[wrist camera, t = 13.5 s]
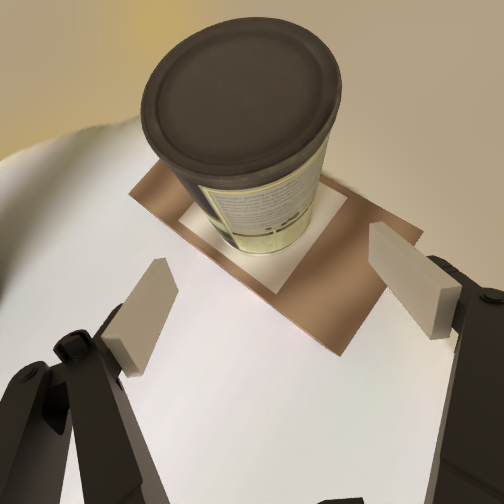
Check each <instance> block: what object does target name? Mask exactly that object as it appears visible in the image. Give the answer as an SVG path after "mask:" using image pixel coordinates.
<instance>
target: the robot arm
mask: <svg viewBox="0 0 504 504" xmlns="http://www.w3.org/2000/svg"><path fill="white" fill-rule="evenodd" d="M368 262H369V263H370V265H371V266H372V267H373V268H374V270H375V271H376V272H377V273H378V275H379V276H380V277H381V278H382V280H383V281H384V282H385V283H386V285H387V286H388V287H389V289H390V290H391V291H392V292H393V294H394V295H395V296H396V297H397V299H398V300H399V301H400V302H401V304H402V305H403V306H404V307H405V309H406V310H407V311H408V312H409V314H410V315H411V316H412V317H413V319H414V320H415V321H416V322H417V324H418V325H419V326H420V327H421V329H422V330H423V331H424V332H425V334H426V335H427V336H428V337H429V339H430V340H434V339H443V338H449V337H450V332H451V328H453V329H454V330H455V331H456V332H457V333H458V334H459V336H458V340H457V344H456V347H455V351H454V353H455V354H454V359H453V364H452V369H451V374H450V379H449V384H448V389H447V394H446V399H445V404H444V409H443V414H442V418H441V423H440V428H439V433H438V438H437V443H436V448H435V453H434V458H433V463H432V468H431V473H430V478H429V483H428V488H427V492H426V497H425V502H424V504H504V292H503V291H500V290H497V289H493V288H482V287H480V286H479V285H478V284H477V283H475V282H474V281H472V280H471V279H469V277H467V276H466V275H464V274H463V273H461V272H459V270H458V269H456V268H455V267H453V266H452V265H451V264H450V263H448V262H447V261H446V260H444V259H441V258H439V257H436V256H434V255H432V256H424V254H422V253H421V252H420V251H419V250H417V249H416V248H415V247H414V246H412V245H411V244H410V243H409V242H407V241H406V240H405V239H404V238H402V237H401V236H400V235H399V234H398V233H396V232H395V231H394V230H393V229H391V228H390V227H389V226H388V225H386V224H385V223H384V222H383V221H382V222H376V223H370V225H369V254H368ZM177 293H178V288H177V286H176V283H175V281H174V279H173V276H172V274H171V271H170V269H169V266H168V264H167V261H166V259H165V258H160V259H154V260H153V262H152V263H151V265H150V266H149V268H148V269H147V271H146V272H145V273H144V275H143V276H142V278H141V279H140V281H139V282H138V283H137V285H136V286H135V288H134V289H133V291H132V292H131V294H130V295H129V296H128V298H127V299H126V301H125V302H124V303H122V304H120V305H118V306H117V307H116V308H115V309H114V310H113V311H112V312H111V313H110V315H109V316H108V317H107V318H108V319H106V320H105V322H104V323H103V325H102V326H101V327H100V328H99V330H98V331H97V333H96V334H95V335H94V337H93V338H91V336H90V335H89V333H88V332H87V331H86V330H83V329H81V330H76V331H74V332H71V333H69V334H67V335H66V336H64V337H63V338H62V339H60V340H59V341H58V342H57V343H56V345H55V346H54V349H53V351H54V352H55V354H56V355H57V356H58V357H59V359H60V360H61V361H62V363H59V364H57V365H54V366H51V367H49V366H48V365H47V364H46V363H45V362H44V361H37V362H34V363H31V364H29V365H28V366H25V367H24V368H23V369H21V370H20V371H18V372H17V373H16V374H15V375H14V376H13V377H12V379H11V380H10V382H9V384H8V386H7V388H6V390H5V392H4V395H3V397H2V399H1V401H0V504H59V503H60V497H61V491H62V485H63V480H64V474H65V468H66V462H67V456H68V450H69V444H70V438H71V432H72V426H73V430H74V436H75V443H76V450H77V457H78V463H79V470H80V477H81V483H82V490H83V497H84V504H170V502H169V500H168V497H167V495H166V492H165V490H164V487H163V485H162V482H161V480H160V477H159V475H158V472H157V470H156V467H155V465H154V462H153V460H152V457H151V455H150V452H149V450H148V447H147V445H146V442H145V440H144V437H143V435H142V432H141V430H140V427H139V425H138V422H137V420H136V417H135V415H134V412H133V410H132V408H131V405H130V403H129V400H128V398H127V395H126V393H125V390H124V388H123V385H122V383H121V381H120V379H119V378H118V376H119V374H120V372H121V370H123V372H124V373H125V375H126V377H127V378H128V377H136V376H142V375H143V373H144V371H145V368H146V366H147V364H148V361H149V359H150V357H151V354H152V352H153V349H154V347H155V345H156V342H157V340H158V338H159V335H160V333H161V331H162V328H163V326H164V324H165V321H166V319H167V317H168V314H169V312H170V310H171V307H172V305H173V303H174V300H175V298H176V296H177ZM318 504H364V501H363V498H362V497H361V498H347V499H333V500H324V501H322V502H320V503H318Z"/></svg>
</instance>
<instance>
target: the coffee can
mask: <svg viewBox="0 0 504 504" xmlns="http://www.w3.org/2000/svg"><path fill="white" fill-rule="evenodd" d="M341 91H342V80H341V74H340V70H339V66H338V64H337V62H336V60H335V58H334V56H333V54H332V53H331V51H330V50H329V48H328V47H327V46H326V45H325V44H324V43H323V42H322V41H321V40H320V39H319V38H318V37H317V36H315V35H314V34H313V33H311V32H310V31H309V30H307V29H305V28H303V27H301V26H299V25H296V24H294V23H291V22H288V21H284V20H280V19H274V18H264V17H249V18H238V19H233V20H228V21H225V22H222V23H218V24H215V25H213V26H210V27H207V28H205V29H203V30H201V31H199V32H197V33H195V34H193V35H191V36H190V37H188V38H187V39H185V40H183V41H182V42H180V43H179V44H178V45H176V46H175V47H174V48H173V49H172V50H171V51H170V52H169V53H168V54H167V55H166V56H165V57H164V58H163V59H162V60H161V61H160V63H159V64H158V65H157V67H156V68H155V70H154V71H153V73H152V74H151V76H150V78H149V81H148V82H147V84H146V87H145V90H144V93H143V97H142V101H141V123H142V129H143V132H144V134H145V137H146V139H147V141H148V143H149V145H150V146H151V148H152V149H153V151H154V152H155V153H156V154H157V156H158V157H159V158H160V160H161V161H162V162H163V163H164V164H165V165H166V166H167V167H168V168H170V169H171V170H172V172H173V173H174V174H175V176H176V177H177V178H178V180H179V181H180V182H181V184H182V185H183V186H184V188H185V189H186V190H187V192H188V193H189V194H190V196H191V197H192V198H193V199H194V201H195V202H196V203H197V205H198V206H199V207H200V209H201V210H202V211H203V213H204V214H205V215H206V217H207V218H208V219H209V221H210V222H211V223H212V225H213V226H214V227H215V229H216V230H217V231H218V233H219V235H220V236H221V238H222V239H223V240H224V241H225V242H226V243H227V244H228V245H229V246H230V247H231V248H233V249H234V250H236V251H238V252H240V253H242V254H245V255H250V256H257V257H264V256H271V255H275V254H279V253H282V252H284V251H286V250H287V249H289V248H290V247H292V246H293V245H295V244H296V243H297V242H298V241H299V240H300V239H301V237H302V236H303V235H304V233H305V232H306V230H307V228H308V226H309V224H310V221H311V217H312V208H313V204H314V200H315V195H316V191H317V187H318V183H319V178H320V174H321V169H322V164H323V161H324V156H325V152H326V147H327V143H328V139H329V134H330V130H331V128H332V126H333V124H334V122H335V119H336V115H337V112H338V109H339V105H340V101H341Z"/></svg>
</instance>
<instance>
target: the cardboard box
mask: <svg viewBox="0 0 504 504" xmlns="http://www.w3.org/2000/svg"><path fill="white" fill-rule="evenodd" d="M129 195H130V196H131V197H132V198H134V199H135V200H136V201H137V202H138V203H140V204H141V205H142V206H143V207H144V208H146V209H147V210H148V211H149V212H151V213H152V214H153V215H154V216H155V217H157V218H158V219H159V220H160V221H162V222H163V223H164V224H165V225H167V226H168V227H169V228H171V229H172V230H173V231H175V232H176V233H177V234H178V235H180V236H181V237H182V238H184V239H185V240H186V241H188V242H189V243H190V244H191V245H193V246H194V247H195V248H197V249H198V250H199V251H201V252H202V253H203V254H204V255H206V256H207V257H208V258H210V259H211V260H212V261H213V262H215V263H216V264H217V265H219V266H220V267H221V268H223V269H224V270H225V271H226V272H228V273H229V274H230V275H232V276H233V277H234V278H236V279H237V280H238V281H239V282H241V283H242V284H243V285H245V286H246V287H247V288H248V289H250V290H251V291H252V292H254V293H255V294H256V295H258V296H259V297H260V298H261V299H263V300H264V301H265V302H267V303H268V304H269V305H271V306H272V307H273V308H274V309H276V310H277V311H278V312H280V313H281V314H282V315H284V316H285V317H286V318H287V319H289V320H290V321H291V322H293V323H294V324H295V325H296V326H298V327H299V328H300V329H302V330H303V331H304V332H306V333H307V334H308V335H309V336H311V337H312V338H313V339H315V340H316V341H317V342H319V343H320V344H321V345H322V346H324V347H325V348H326V349H328V350H330V351H331V352H333V353H335V354H336V355H338V356H341V355H342V353H343V352H344V350H345V349H346V347H347V346H348V344H349V343H350V341H351V340H352V338H353V337H354V335H355V334H356V332H357V331H358V329H359V328H360V326H361V325H362V323H363V322H364V320H365V319H366V317H367V316H368V314H369V313H370V311H371V310H372V308H373V307H374V305H375V304H376V302H377V301H378V299H379V298H380V296H381V295H382V293H383V292H384V290H385V289H386V287H387V285H386V283H385V282H384V281H383V280H382V278H381V277H380V276H379V275H378V273H377V272H376V271H375V270H374V268H373V267H372V266H371V265H370V263H369V262H368V254H369V225H370V223H376V222H382V221H383V222H384V223H385V224H386V225H388V226H389V227H390V228H391V229H393V230H394V231H395V232H396V233H398V234H399V235H400V236H401V237H402V238H404V239H405V240H406V241H407V242H409V243H410V244H411V245H412V246H414V245H415V244H416V242H417V241H418V239H419V238H420V236H421V235H422V233H423V231H422V230H420V229H418V228H417V227H415V226H413V225H411V224H410V223H408V222H406V221H404V220H402V219H401V218H399V217H397V216H395V215H393V214H392V213H390V212H388V211H386V210H384V209H383V208H381V207H379V206H377V205H375V204H374V203H372V202H370V201H368V200H367V199H365V198H363V197H361V196H359V195H358V194H356V193H354V192H352V191H350V190H349V189H347V188H345V187H343V186H341V185H340V184H338V183H336V182H334V181H332V180H331V179H329V178H327V177H325V176H323V175H322V174H320V178H319V183H318V187H317V191H316V195H315V200H314V204H313V208H312V217H311V221H310V224H309V226H308V228H307V230H306V232H305V233H304V235H303V236H302V237H301V239H300V240H299V241H298V242H297V243H296V244H295V245H293V246H292V247H290V248H289V249H287V250H286V251H284V252H282V253H279V254H275V255H271V256H264V257H257V256H250V255H245V254H242V253H240V252H238V251H236V250H234V249H233V248H231V247H230V246H229V245H228V244H227V243H226V242H225V241H224V240H223V239H222V238H221V236H220V235H219V233H218V231H217V230H216V229H215V227H214V226H213V225H212V223H211V222H210V221H209V219H208V218H207V217H206V215H205V214H204V213H203V211H202V210H201V209H200V207H199V206H198V205H197V203H196V202H195V201H194V199H193V198H192V197H191V196H190V194H189V193H188V192H187V190H186V189H185V188H184V186H183V185H182V184H181V182H180V181H179V180H178V178H177V177H176V176H175V174H174V173H173V172H172V170H171V169H170V168H168V167H167V166H166V165H165V164H164V163H163V162H162V161H161V160H160V159H159V161H158V162H157V163H156V164H155V165H154V166H153V167H152V168H151V169H150V171H149V172H148V173H147V174H146V175H145V176H144V177H143V178H142V179H141V180H140V182H139V183H138V184H137V185H136V186H135V187H134V188H133V189H132V190H131V191H130V193H129Z"/></svg>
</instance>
